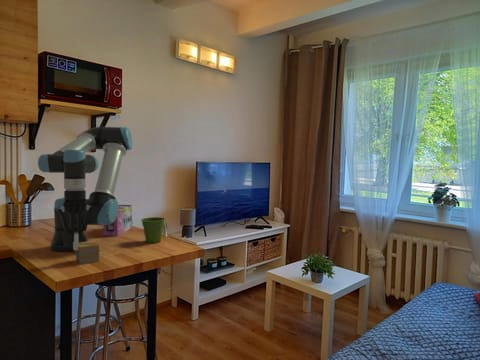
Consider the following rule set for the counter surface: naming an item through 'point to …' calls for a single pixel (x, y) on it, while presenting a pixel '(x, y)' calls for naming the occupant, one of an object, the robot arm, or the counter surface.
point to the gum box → (120, 222)
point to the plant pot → (153, 228)
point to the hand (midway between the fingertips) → (75, 249)
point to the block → (87, 252)
